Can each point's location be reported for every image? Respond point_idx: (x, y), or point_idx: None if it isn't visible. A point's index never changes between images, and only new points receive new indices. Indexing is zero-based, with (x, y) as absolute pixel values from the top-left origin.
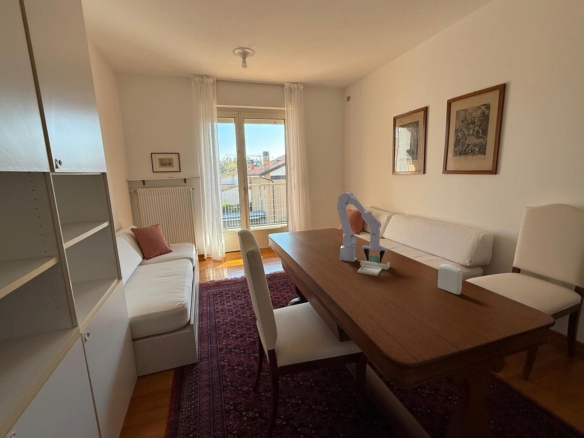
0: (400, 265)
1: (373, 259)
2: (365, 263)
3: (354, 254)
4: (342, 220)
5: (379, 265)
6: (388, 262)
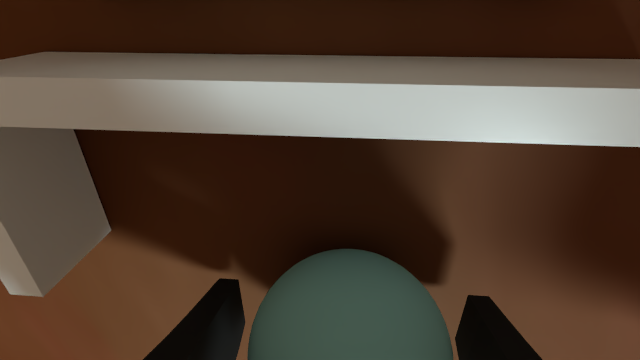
0: (17, 322)
1: (343, 304)
2: (537, 74)
3: None
4: None
5: (132, 67)
6: (3, 258)
